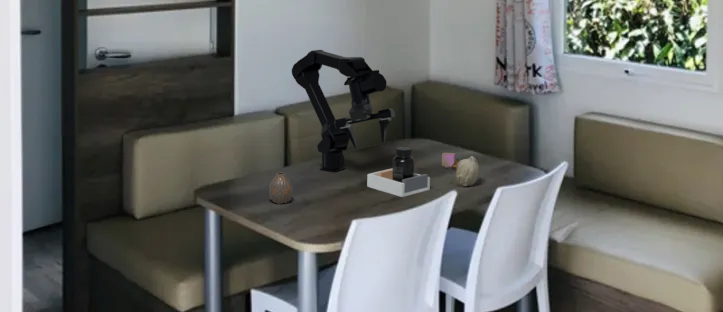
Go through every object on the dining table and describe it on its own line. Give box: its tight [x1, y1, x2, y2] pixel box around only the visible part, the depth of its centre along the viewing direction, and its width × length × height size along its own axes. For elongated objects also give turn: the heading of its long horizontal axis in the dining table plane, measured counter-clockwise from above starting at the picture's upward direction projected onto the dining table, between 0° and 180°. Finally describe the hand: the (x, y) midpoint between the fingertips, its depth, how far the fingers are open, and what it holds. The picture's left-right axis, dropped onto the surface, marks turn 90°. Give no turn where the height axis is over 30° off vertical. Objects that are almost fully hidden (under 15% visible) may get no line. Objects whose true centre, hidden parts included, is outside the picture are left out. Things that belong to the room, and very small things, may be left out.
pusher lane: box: [366, 167, 431, 198], centre depth 299 cm, size 15×12×5 cm
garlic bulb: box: [455, 155, 480, 187], centre depth 303 cm, size 9×8×10 cm
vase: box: [268, 172, 294, 205], centre depth 283 cm, size 7×7×9 cm
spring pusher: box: [377, 168, 393, 180], centre depth 302 cm, size 3×9×4 cm, turn 133°
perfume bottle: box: [441, 152, 460, 171], centre depth 326 cm, size 12×12×4 cm
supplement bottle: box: [392, 146, 416, 183], centre depth 296 cm, size 7×7×12 cm
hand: (369, 145), depth 306 cm, fingers open, 9 cm apart
